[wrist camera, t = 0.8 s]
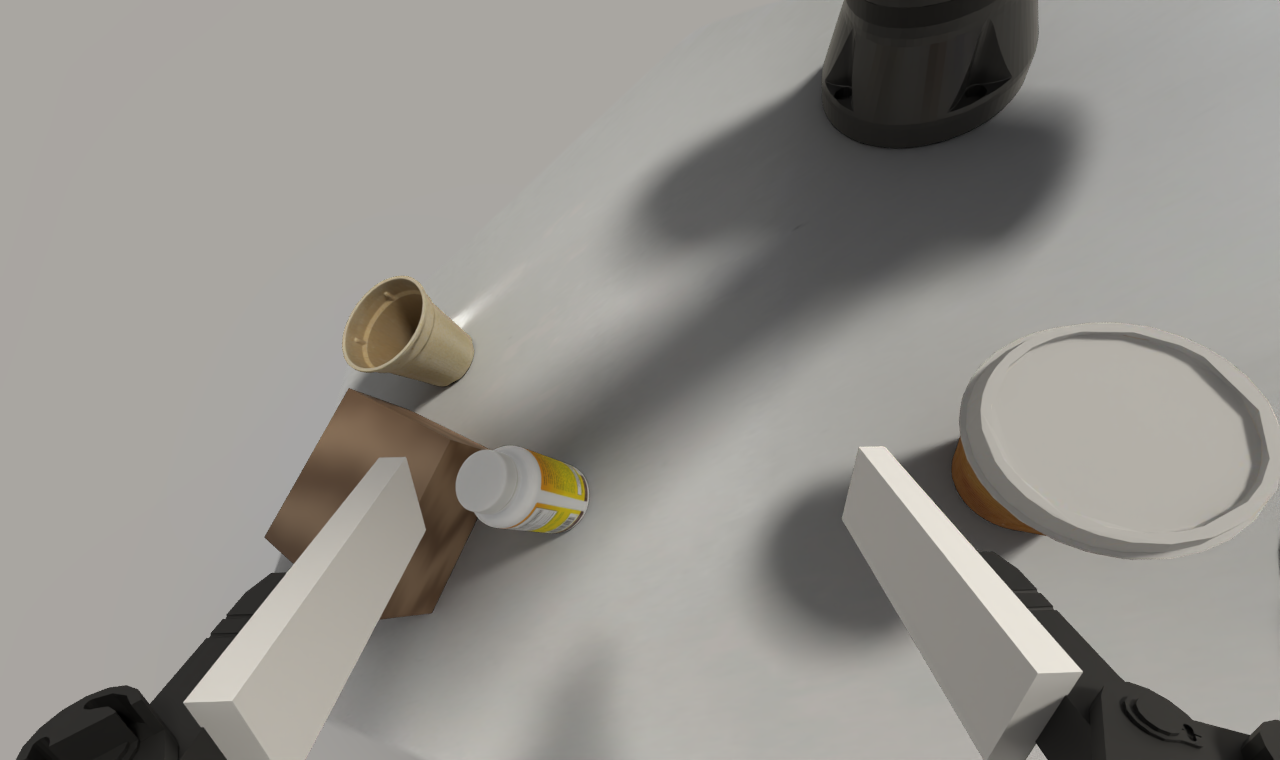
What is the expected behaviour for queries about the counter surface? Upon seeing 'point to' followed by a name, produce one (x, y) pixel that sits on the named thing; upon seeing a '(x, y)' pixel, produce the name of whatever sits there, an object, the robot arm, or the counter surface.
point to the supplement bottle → (522, 490)
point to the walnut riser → (345, 460)
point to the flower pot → (405, 335)
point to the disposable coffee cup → (1116, 442)
